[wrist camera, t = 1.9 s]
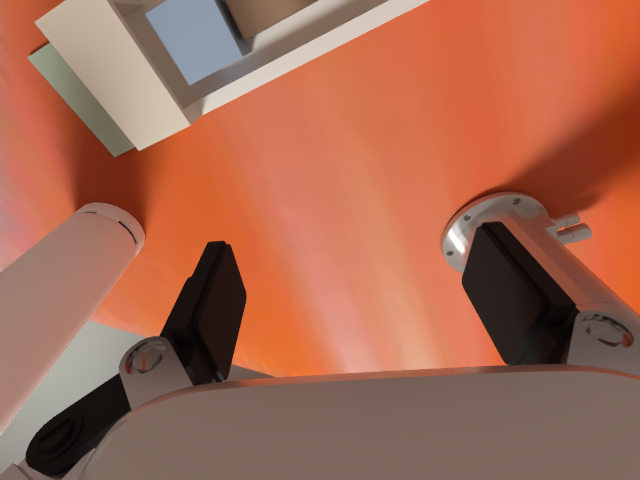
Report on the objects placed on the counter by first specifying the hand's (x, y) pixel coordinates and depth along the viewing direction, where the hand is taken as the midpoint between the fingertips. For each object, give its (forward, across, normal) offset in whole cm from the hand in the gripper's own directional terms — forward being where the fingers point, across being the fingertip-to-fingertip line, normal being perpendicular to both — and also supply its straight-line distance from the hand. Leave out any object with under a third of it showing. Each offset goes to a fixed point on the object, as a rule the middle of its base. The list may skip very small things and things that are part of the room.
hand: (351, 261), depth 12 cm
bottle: (+23, +28, +12) cm, 38 cm away
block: (+22, +10, -7) cm, 25 cm away
